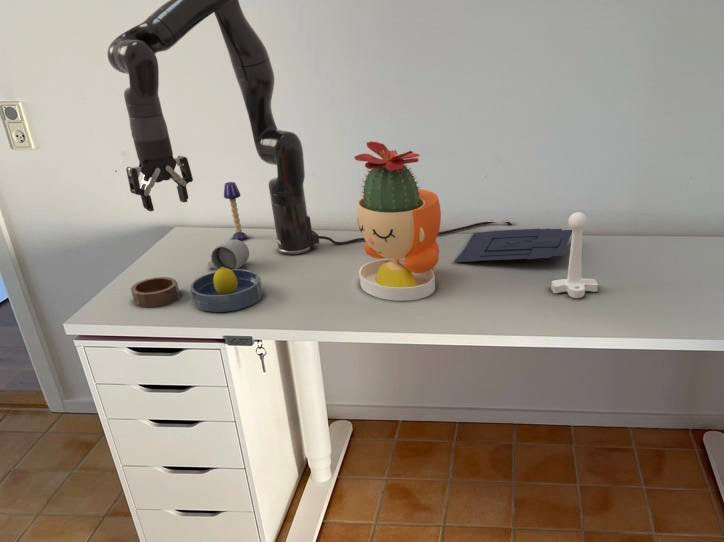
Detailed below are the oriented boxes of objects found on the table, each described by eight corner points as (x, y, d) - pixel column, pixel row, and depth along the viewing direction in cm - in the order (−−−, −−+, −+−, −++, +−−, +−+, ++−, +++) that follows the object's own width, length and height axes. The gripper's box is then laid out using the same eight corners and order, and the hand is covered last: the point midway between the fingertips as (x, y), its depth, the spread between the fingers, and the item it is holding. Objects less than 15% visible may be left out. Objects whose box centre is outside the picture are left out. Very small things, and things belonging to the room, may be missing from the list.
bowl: (252, 280, 185) (249, 264, 183) (271, 303, 173) (268, 286, 171) (187, 294, 178) (184, 278, 175) (202, 319, 166) (198, 301, 163)
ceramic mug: (253, 263, 195) (248, 236, 192) (240, 274, 188) (234, 247, 185) (217, 261, 197) (211, 235, 193) (203, 273, 190) (196, 245, 186)
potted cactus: (401, 307, 170) (391, 160, 152) (343, 283, 183) (327, 144, 166) (463, 280, 183) (460, 142, 166) (405, 259, 197) (397, 129, 179)
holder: (175, 286, 182) (172, 273, 180) (183, 301, 174) (180, 288, 173) (131, 295, 178) (128, 282, 176) (138, 311, 170) (134, 297, 168)
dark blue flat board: (563, 267, 187) (563, 254, 185) (454, 271, 195) (452, 259, 193) (574, 236, 207) (573, 224, 206) (475, 241, 215) (473, 229, 213)
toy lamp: (229, 238, 213) (218, 183, 205) (243, 234, 216) (233, 179, 207) (236, 242, 210) (226, 186, 202) (251, 238, 213) (241, 183, 204)
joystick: (593, 285, 180) (599, 208, 170) (600, 298, 173) (606, 219, 163) (550, 287, 179) (553, 210, 169) (555, 300, 173) (558, 220, 163)
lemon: (233, 303, 172) (227, 272, 168) (212, 301, 173) (206, 270, 169) (244, 293, 177) (238, 263, 173) (224, 292, 178) (217, 262, 174)
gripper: (128, 144, 153) (147, 217, 161) (188, 132, 162) (203, 201, 171) (111, 139, 157) (130, 210, 165) (171, 128, 167) (186, 196, 175)
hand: (167, 206), depth 168 cm, fingers open, 8 cm apart
